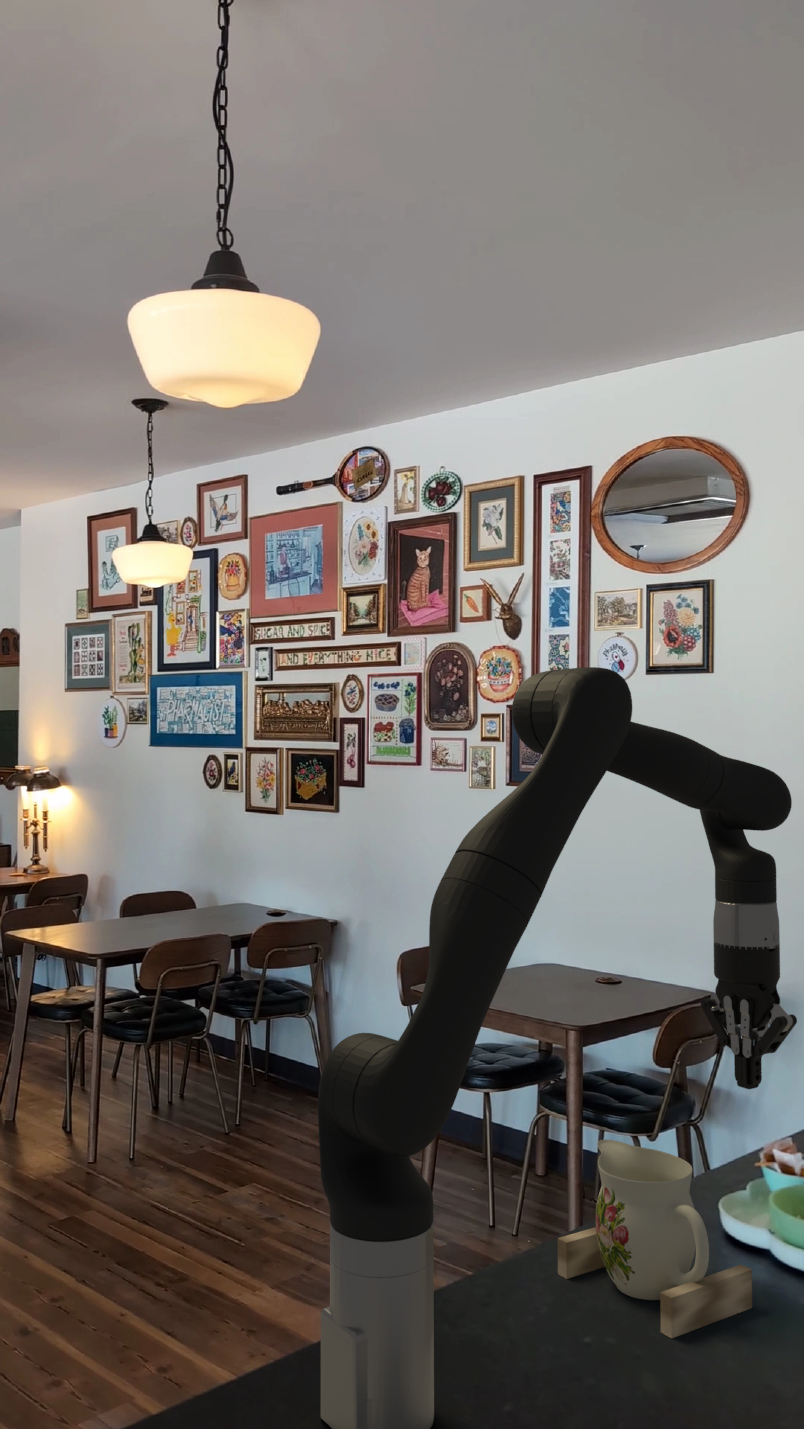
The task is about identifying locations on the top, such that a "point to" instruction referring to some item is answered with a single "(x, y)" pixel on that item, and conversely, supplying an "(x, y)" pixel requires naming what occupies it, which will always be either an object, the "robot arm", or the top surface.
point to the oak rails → (679, 1304)
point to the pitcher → (648, 1221)
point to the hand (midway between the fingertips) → (748, 1086)
